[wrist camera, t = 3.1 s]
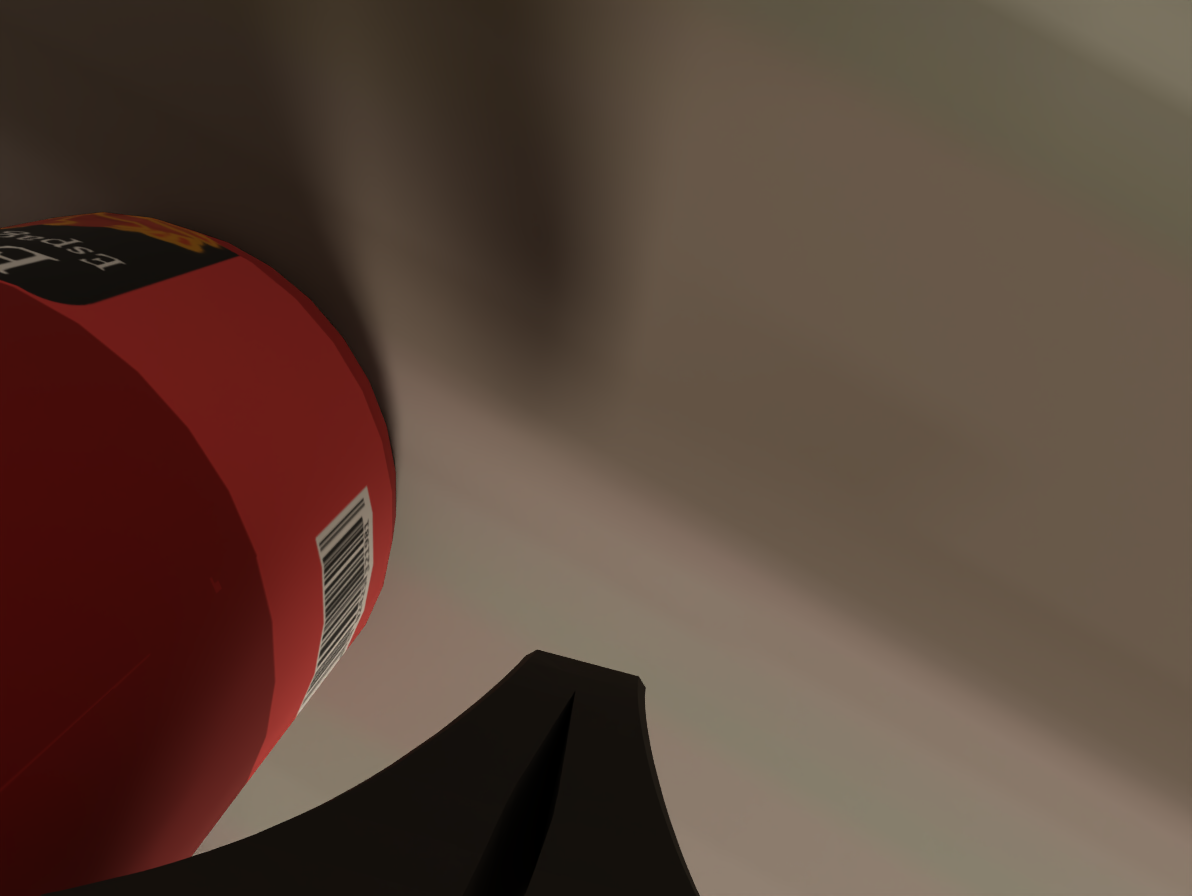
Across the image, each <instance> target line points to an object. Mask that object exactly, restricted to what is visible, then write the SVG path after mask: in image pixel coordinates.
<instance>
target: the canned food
mask: <svg viewBox="0 0 1192 896" xmlns="http://www.w3.org/2000/svg"><path fill="white" fill-rule="evenodd" d="M395 518H396V471H395V466H394V461H393V456H392V451H391V446H390V441H389V436H388V430H387V426H386V423H385V421H384V418H383V416H382V413H381V410H380V408H379V405H378V403H377V400H376V398H375V395H374V392H373V390H372V387H371V385H370V382H369V380H368V378H367V377H366V375H365V373H364V372H363V370H362V368H361V367H360V365H359V363H358V362H357V360H356V358H355V357H354V355H353V353H352V352H351V350H350V348H349V347H348V345H347V343H346V342H345V340H344V338H343V337H342V336H341V335H340V334H339V332H338V331H337V330H336V329H335V328H334V327H333V325H332V324H331V323H330V322H329V321H328V320H327V318H326V317H325V316H324V315H323V314H322V313H321V311H320V310H319V309H318V308H317V307H316V306H315V304H314V303H313V302H312V301H311V300H310V299H309V298H308V297H307V296H306V295H304V294H303V293H302V292H301V291H300V290H298V289H297V288H296V287H295V286H294V285H292V284H291V283H290V282H289V281H288V280H286V279H285V278H284V277H283V276H281V275H280V274H279V273H278V272H277V271H275V270H274V269H273V268H272V267H270V266H269V265H267V264H265V263H263V262H262V261H260V260H258V259H256V258H255V257H253V256H251V255H249V254H247V253H246V252H244V251H242V250H240V249H239V248H237V247H235V246H233V245H232V244H230V243H228V242H225V241H222V240H219V239H216V238H213V237H210V236H207V235H204V234H201V233H198V232H195V231H192V230H189V229H187V228H184V227H180V226H177V225H174V224H171V223H167V222H164V221H161V220H158V219H154V218H148V217H140V216H131V215H123V214H114V213H106V212H100V213H91V214H82V215H73V216H64V217H55V218H50V219H45V220H40V221H35V222H30V223H24V224H19V225H14V226H9V227H4V228H0V896H40V895H42V894H45V893H50V892H56V891H61V890H66V889H70V888H74V887H78V886H82V885H87V884H91V883H95V882H99V881H103V880H108V879H112V878H116V877H120V876H125V875H129V874H133V873H137V872H141V871H145V870H149V869H152V868H156V867H159V866H163V865H166V864H170V863H173V862H176V861H179V860H182V859H186V858H189V857H191V856H192V855H193V854H194V852H195V851H196V850H197V848H198V847H199V846H200V844H201V843H202V842H203V840H204V839H205V838H206V836H207V835H208V834H209V832H210V831H211V830H212V828H213V827H214V826H215V824H216V823H217V822H218V820H219V819H220V818H221V816H222V815H223V814H224V812H225V811H226V810H227V808H228V807H229V806H230V804H231V803H232V802H233V800H234V799H235V798H236V796H237V795H238V794H239V792H240V791H241V790H242V788H243V787H244V786H245V784H246V783H247V782H248V780H249V779H250V778H251V776H252V775H253V774H254V772H255V771H256V770H257V768H258V767H259V766H260V764H261V763H262V762H263V760H264V759H265V758H266V756H267V755H268V754H269V752H270V751H271V750H272V748H273V747H274V746H275V744H276V743H277V742H278V740H279V739H280V738H281V736H282V735H283V734H284V732H285V731H286V730H287V728H288V727H289V726H290V724H291V723H292V722H293V720H294V719H295V718H296V716H297V715H298V714H299V712H300V711H301V710H302V709H303V707H304V706H305V705H306V703H307V702H308V701H309V699H310V698H311V697H312V695H313V694H314V693H315V691H316V690H317V689H318V687H319V686H320V685H321V683H322V682H323V681H324V679H325V678H326V677H327V675H328V674H329V673H330V671H331V670H332V669H333V667H334V666H335V665H336V663H337V662H338V661H339V659H340V658H341V657H342V655H343V654H344V653H345V651H346V650H347V649H348V647H349V646H350V645H351V643H352V642H353V641H354V639H355V638H356V637H357V635H358V634H359V633H360V631H361V630H362V629H363V627H364V626H365V625H366V623H367V620H368V618H369V616H370V614H371V611H372V609H373V607H374V605H375V602H376V600H377V598H378V596H379V594H380V591H381V589H382V587H383V584H384V579H385V574H386V569H387V564H388V559H389V554H390V549H391V544H392V539H393V532H394V525H395Z"/></svg>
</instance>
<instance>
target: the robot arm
mask: <svg viewBox="0 0 1192 896" xmlns="http://www.w3.org/2000/svg"><path fill="white" fill-rule="evenodd" d="M645 689H646V687H645V686H644V684H643V683H642V681H641V679H640V678H639V676H635V675H631V674H628V673H624V672H620V671H616V670H612V669H609V668H605V667H601V666H597V665H594V664H590V663H586V662H582V661H578V660H575V659H571V658H567V657H563V656H560V655H556V654H552V653H548V652H544V651H541V650H536V651H534V652H532V653H530V654H528V655H526V656H525V657H524V658H523V659H522V660H521V661H520V663H519V664H518V665H517V666H516V667H515V668H514V669H512V670H511V671H510V672H509V673H508V674H507V675H506V676H505V677H504V678H503V679H502V680H501V681H500V682H499V683H498V684H497V685H495V686H494V687H493V688H492V689H491V690H490V691H489V692H487V693H486V694H485V695H484V696H483V697H482V698H481V699H479V700H478V701H477V702H476V703H475V704H473V705H472V706H471V707H470V708H468V709H467V710H466V711H464V712H463V713H462V714H461V715H459V716H458V717H457V718H456V719H454V720H453V721H452V722H451V723H449V724H448V725H447V726H446V727H444V728H443V729H442V730H440V731H439V732H438V733H436V734H435V735H434V736H432V737H431V738H429V739H428V740H426V741H425V742H424V743H422V744H421V745H419V746H418V747H416V748H415V749H413V750H412V751H410V752H409V753H408V754H406V755H405V756H403V757H402V758H400V759H399V760H397V761H396V762H394V763H393V764H391V765H390V766H388V767H387V768H385V769H384V770H382V771H380V772H379V773H377V774H375V775H374V776H372V777H371V778H369V779H367V780H365V781H364V782H362V783H360V784H359V785H357V786H355V787H353V788H351V789H350V790H348V791H346V792H344V793H342V794H340V795H339V796H337V797H335V798H333V799H331V800H329V801H328V802H326V803H324V804H322V805H320V806H318V807H315V808H313V809H311V810H309V811H307V812H305V813H303V814H301V815H298V816H296V817H294V818H292V819H289V820H287V821H285V822H282V823H280V824H278V825H275V826H273V827H271V828H269V829H266V830H264V831H262V832H259V833H257V834H255V835H252V836H250V837H247V838H244V839H242V840H239V841H236V842H233V843H230V844H228V845H225V846H222V847H219V848H216V849H214V850H211V851H208V852H205V853H201V854H198V855H195V856H192V857H189V858H186V859H182V860H179V861H176V862H173V863H170V864H166V865H163V866H159V867H156V868H152V869H149V870H145V871H141V872H137V873H133V874H129V875H125V876H120V877H116V878H112V879H108V880H103V881H99V882H95V883H91V884H87V885H82V886H78V887H74V888H70V889H66V890H61V891H56V892H50V893H45V894H42V895H40V896H700V895H699V893H698V891H697V889H696V887H695V884H694V882H693V880H692V877H691V875H690V872H689V870H688V868H687V865H686V863H685V860H684V857H683V855H682V852H681V850H680V847H679V844H678V841H677V838H676V836H675V833H674V830H673V827H672V824H671V821H670V818H669V815H668V812H667V809H666V805H665V802H664V799H663V795H662V791H661V787H660V784H659V780H658V776H657V772H656V768H655V765H654V760H653V756H652V751H651V746H650V740H649V735H648V729H647V721H646V712H645Z"/></svg>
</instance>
